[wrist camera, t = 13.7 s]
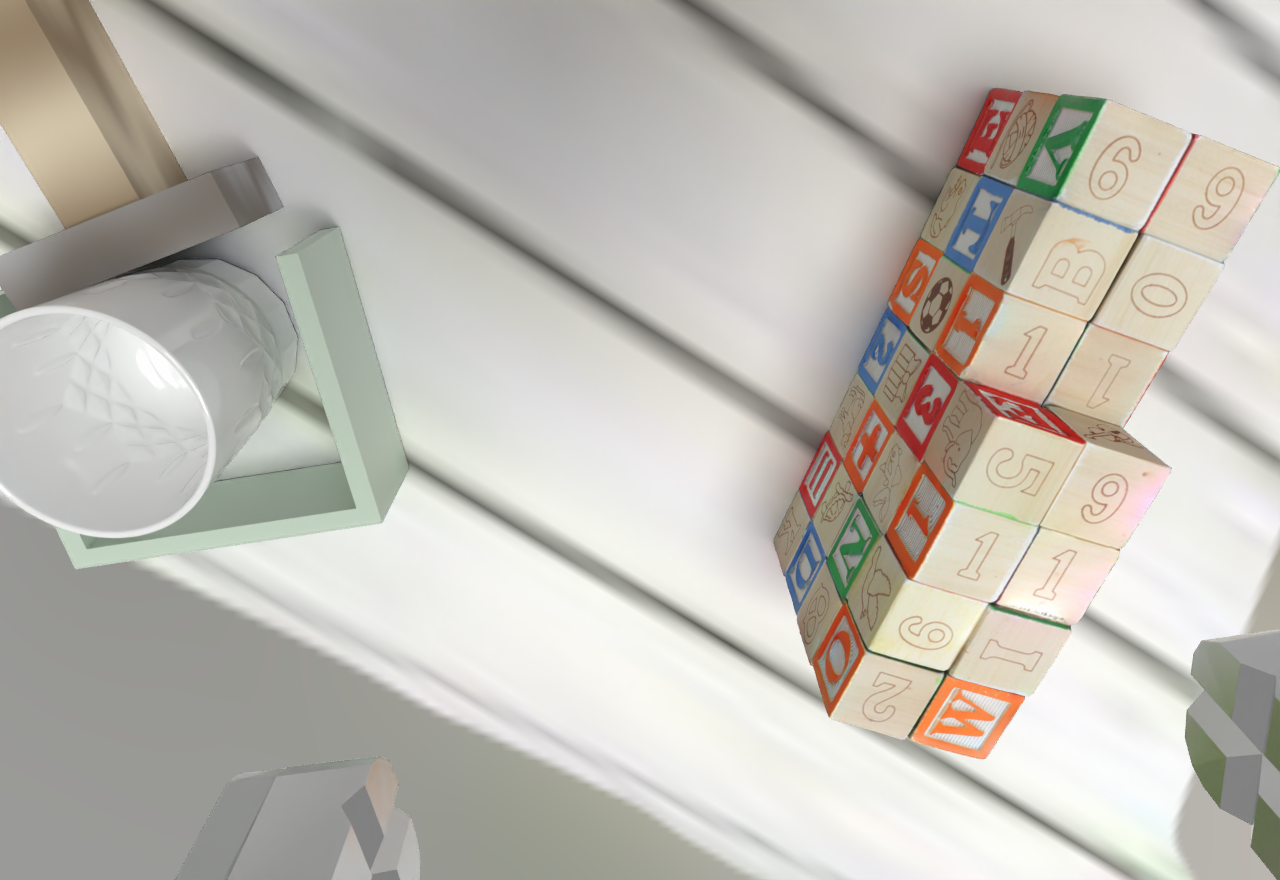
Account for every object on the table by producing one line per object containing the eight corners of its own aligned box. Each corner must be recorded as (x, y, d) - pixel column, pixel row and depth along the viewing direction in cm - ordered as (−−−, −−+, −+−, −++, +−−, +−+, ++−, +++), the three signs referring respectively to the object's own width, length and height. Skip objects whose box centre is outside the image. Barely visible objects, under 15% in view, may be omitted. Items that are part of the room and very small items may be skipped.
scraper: (-147, -91, 31) (-265, -112, 27) (78, -196, 30) (-9, -234, 26) (86, 283, 36) (18, 314, 32) (284, 206, 35) (240, 227, 31)
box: (35, 277, 36) (-50, 310, 31) (339, 226, 35) (297, 252, 31) (137, 510, 40) (75, 569, 36) (409, 468, 40) (382, 523, 35)
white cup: (298, 241, 36) (187, 304, 26) (325, 424, 39) (235, 537, 30) (98, 243, 36) (-83, 307, 26) (142, 426, 39) (-5, 541, 29)
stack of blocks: (986, 81, 34) (1170, 97, 23) (1127, 138, 35) (1370, 181, 24) (770, 543, 42) (826, 725, 31) (890, 579, 43) (987, 768, 32)
